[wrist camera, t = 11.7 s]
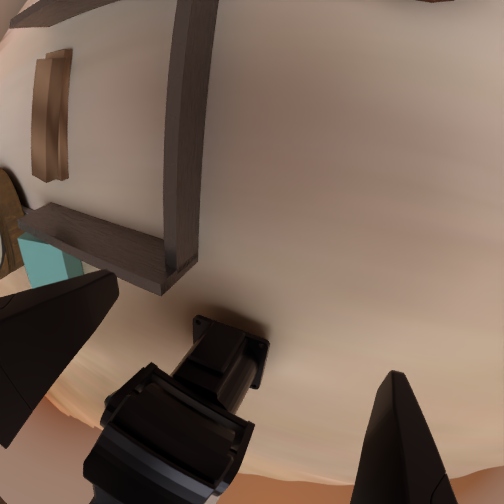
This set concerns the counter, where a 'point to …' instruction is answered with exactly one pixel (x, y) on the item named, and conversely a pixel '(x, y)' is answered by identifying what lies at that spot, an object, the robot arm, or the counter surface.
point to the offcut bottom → (63, 113)
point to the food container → (435, 0)
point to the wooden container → (9, 226)
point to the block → (46, 262)
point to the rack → (175, 161)
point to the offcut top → (46, 118)
